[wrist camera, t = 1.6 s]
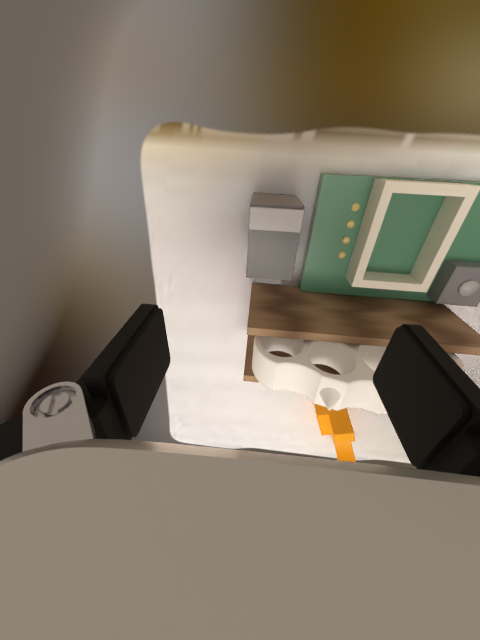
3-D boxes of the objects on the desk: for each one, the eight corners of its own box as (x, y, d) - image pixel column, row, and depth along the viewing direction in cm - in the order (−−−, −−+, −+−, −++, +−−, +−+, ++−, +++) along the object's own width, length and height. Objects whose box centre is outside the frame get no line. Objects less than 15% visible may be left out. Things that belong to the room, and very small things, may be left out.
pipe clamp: (313, 398, 40) (320, 436, 34) (341, 394, 39) (353, 433, 33) (323, 440, 46) (330, 477, 40) (347, 437, 45) (358, 476, 39)
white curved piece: (257, 294, 30) (250, 388, 18) (410, 305, 29) (512, 413, 17) (255, 317, 32) (248, 416, 20) (398, 328, 31) (484, 440, 19)
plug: (295, 195, 24) (304, 207, 18) (285, 261, 27) (290, 288, 22) (254, 192, 24) (250, 204, 18) (249, 258, 28) (245, 284, 22)
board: (529, 184, 22) (571, 189, 19) (459, 298, 28) (482, 316, 25) (321, 173, 23) (329, 176, 20) (299, 286, 29) (303, 301, 26)
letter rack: (435, 297, 28) (496, 349, 21) (410, 344, 32) (454, 401, 25) (252, 283, 29) (247, 327, 22) (248, 329, 33) (243, 380, 26)
